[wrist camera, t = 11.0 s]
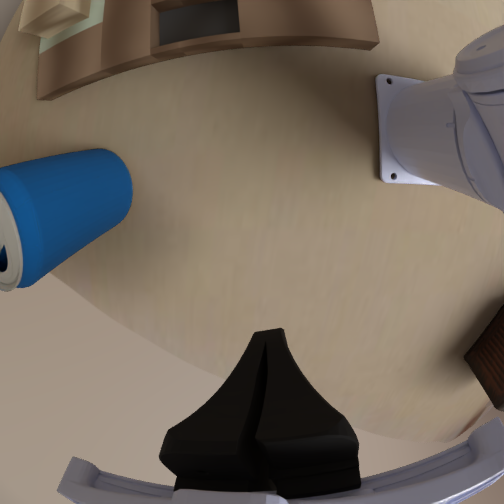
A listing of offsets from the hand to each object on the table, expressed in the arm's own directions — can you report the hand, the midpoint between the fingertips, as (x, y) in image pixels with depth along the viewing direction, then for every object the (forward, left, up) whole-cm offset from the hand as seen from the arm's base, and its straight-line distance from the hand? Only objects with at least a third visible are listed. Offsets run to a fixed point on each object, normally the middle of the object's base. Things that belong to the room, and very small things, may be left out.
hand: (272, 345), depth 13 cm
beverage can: (+13, -7, -10) cm, 18 cm away
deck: (+5, -24, -9) cm, 26 cm away
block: (+15, -24, -7) cm, 29 cm away
